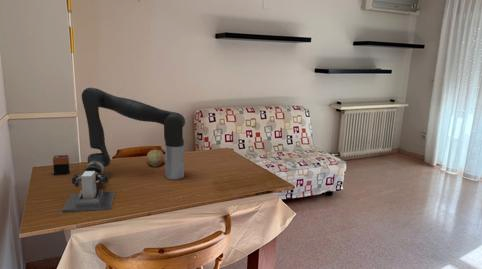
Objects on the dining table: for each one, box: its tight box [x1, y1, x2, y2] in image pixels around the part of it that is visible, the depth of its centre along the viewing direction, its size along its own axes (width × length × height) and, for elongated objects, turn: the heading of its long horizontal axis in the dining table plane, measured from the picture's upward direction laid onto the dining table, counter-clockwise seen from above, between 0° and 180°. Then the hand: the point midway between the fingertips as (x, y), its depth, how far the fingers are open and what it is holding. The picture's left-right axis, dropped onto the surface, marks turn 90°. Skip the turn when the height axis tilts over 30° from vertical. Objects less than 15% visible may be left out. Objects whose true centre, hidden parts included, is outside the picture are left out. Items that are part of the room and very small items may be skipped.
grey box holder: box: [61, 188, 115, 213], centre depth 145 cm, size 18×16×4 cm
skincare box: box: [81, 170, 97, 199], centre depth 144 cm, size 6×4×12 cm
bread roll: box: [146, 149, 165, 168], centre depth 198 cm, size 10×15×8 cm, turn 19°
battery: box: [52, 153, 70, 176], centre depth 175 cm, size 4×7×10 cm, turn 111°
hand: (88, 184), depth 142 cm, fingers open, 8 cm apart
